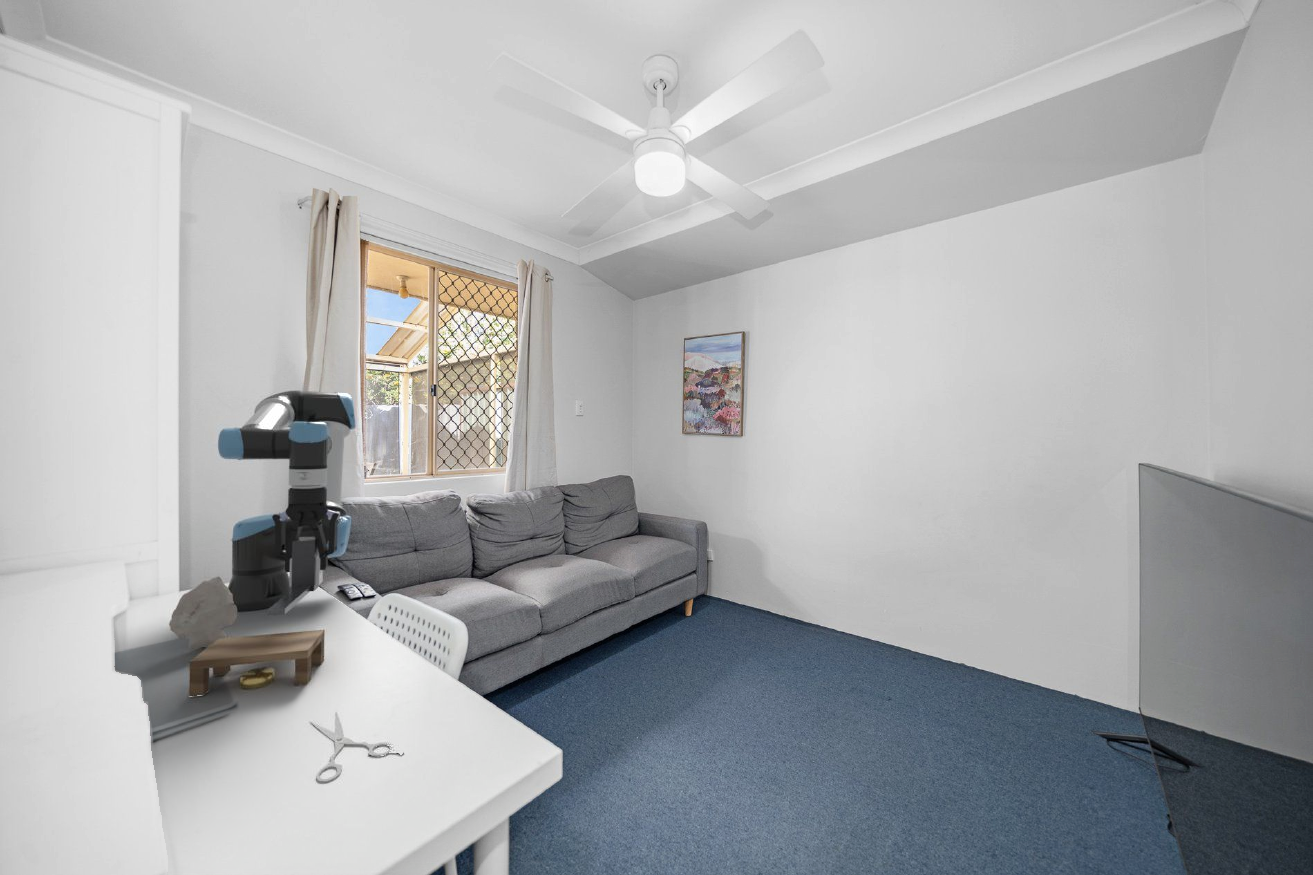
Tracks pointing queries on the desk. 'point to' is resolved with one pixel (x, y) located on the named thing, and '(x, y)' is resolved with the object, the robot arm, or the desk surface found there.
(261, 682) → the disc
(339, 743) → the scissors
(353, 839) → the desk surface
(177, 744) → the desk surface
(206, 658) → the stand
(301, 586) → the dark grey l-shaped block
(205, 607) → the stone tool
